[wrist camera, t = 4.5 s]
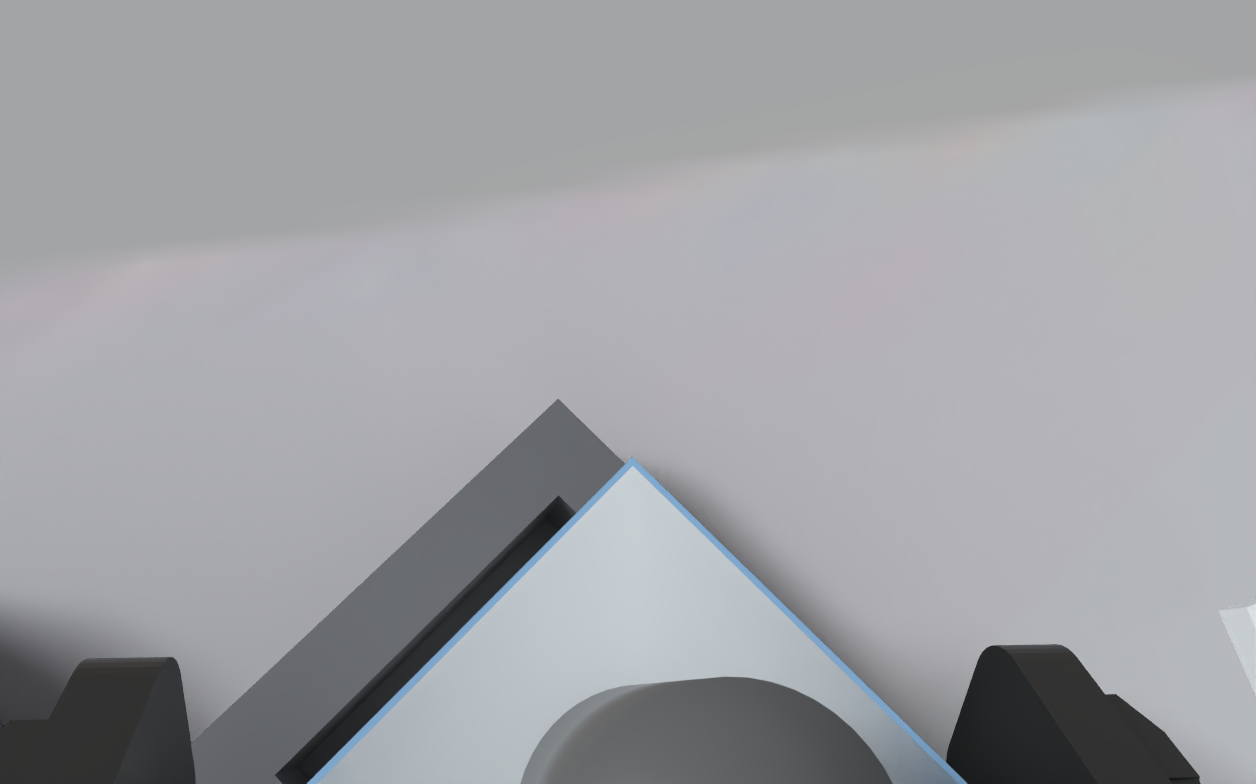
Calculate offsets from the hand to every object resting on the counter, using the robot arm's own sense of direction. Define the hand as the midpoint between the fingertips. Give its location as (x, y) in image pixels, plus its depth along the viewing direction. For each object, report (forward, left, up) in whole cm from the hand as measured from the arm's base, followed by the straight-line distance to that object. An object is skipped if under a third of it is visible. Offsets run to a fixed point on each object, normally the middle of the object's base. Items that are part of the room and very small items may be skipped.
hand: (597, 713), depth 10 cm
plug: (-1, 0, -5) cm, 5 cm away
